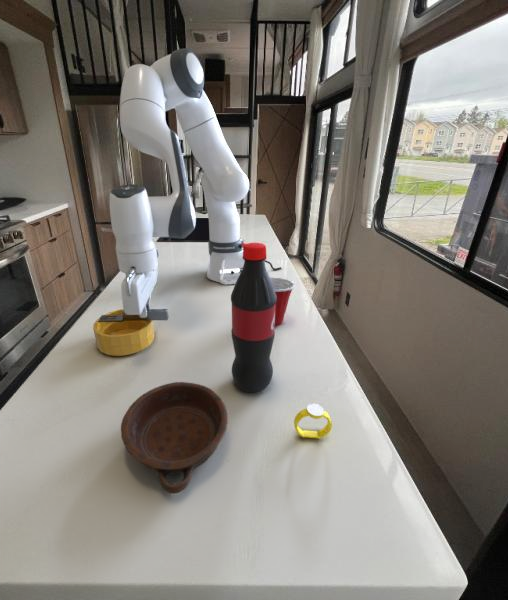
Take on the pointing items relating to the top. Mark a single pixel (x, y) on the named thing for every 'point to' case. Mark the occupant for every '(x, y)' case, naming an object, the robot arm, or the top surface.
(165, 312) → the grey spatula
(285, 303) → the plastic cup
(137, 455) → the dish
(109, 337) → the bowl
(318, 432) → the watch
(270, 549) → the top surface
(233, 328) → the cola bottle
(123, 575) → the top surface
